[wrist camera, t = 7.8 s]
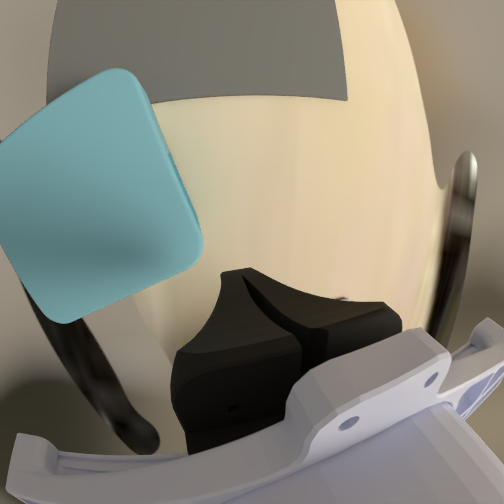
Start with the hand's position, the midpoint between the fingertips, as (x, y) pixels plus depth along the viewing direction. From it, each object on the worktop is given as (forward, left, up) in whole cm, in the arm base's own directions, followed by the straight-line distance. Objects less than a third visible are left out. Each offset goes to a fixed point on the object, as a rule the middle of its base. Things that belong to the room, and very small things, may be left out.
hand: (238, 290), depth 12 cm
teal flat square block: (+6, +2, -6) cm, 9 cm away
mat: (+17, 0, -8) cm, 19 cm away
